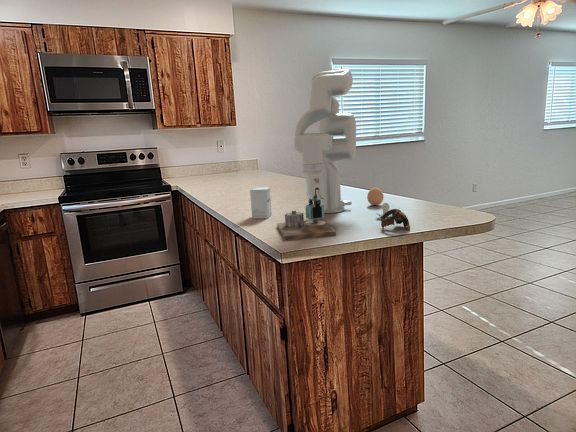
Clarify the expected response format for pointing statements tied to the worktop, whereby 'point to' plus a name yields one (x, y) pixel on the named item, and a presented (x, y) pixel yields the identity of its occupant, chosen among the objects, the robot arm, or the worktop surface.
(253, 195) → the supplement box
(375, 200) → the egg
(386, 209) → the pacifier
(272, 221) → the worktop surface
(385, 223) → the brown arched figurine
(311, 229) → the gear board
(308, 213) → the teal gear
